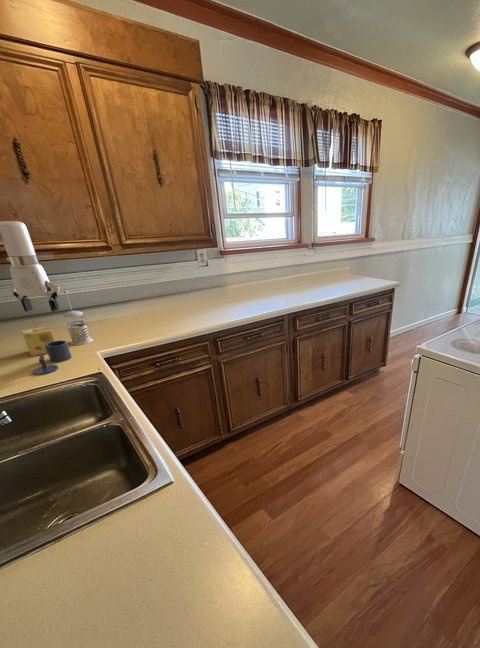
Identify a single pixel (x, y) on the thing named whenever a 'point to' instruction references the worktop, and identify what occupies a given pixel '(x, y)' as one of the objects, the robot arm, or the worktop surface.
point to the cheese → (38, 340)
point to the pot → (58, 351)
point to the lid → (44, 367)
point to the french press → (76, 337)
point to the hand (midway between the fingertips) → (42, 310)
